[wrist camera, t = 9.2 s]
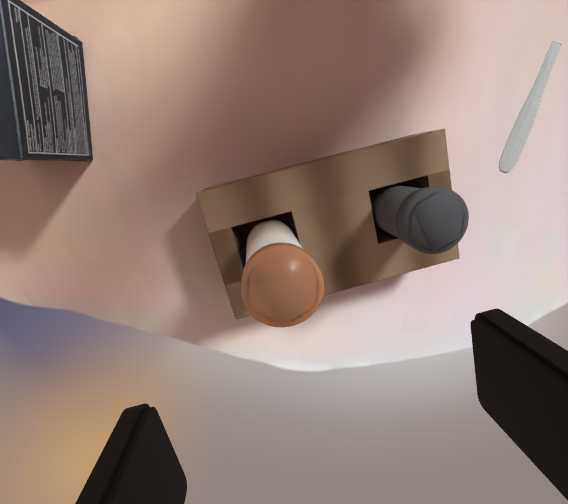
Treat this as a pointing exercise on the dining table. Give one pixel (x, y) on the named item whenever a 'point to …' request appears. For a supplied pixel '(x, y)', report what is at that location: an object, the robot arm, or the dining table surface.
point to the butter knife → (527, 113)
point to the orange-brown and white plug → (279, 276)
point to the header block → (330, 212)
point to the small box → (41, 89)
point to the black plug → (420, 216)
